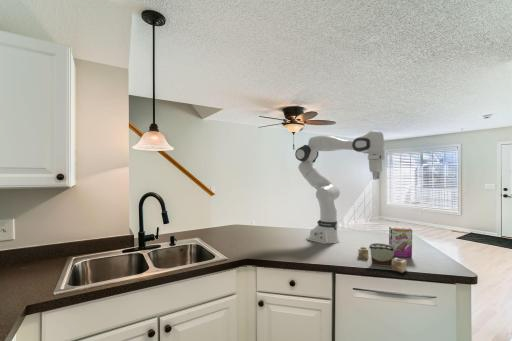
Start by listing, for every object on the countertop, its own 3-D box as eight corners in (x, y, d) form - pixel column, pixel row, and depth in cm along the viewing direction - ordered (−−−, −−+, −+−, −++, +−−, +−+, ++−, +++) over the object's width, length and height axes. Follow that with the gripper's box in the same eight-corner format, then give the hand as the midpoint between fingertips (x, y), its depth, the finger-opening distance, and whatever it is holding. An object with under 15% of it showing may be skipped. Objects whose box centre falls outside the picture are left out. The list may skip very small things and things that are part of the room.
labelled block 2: (391, 269, 126) (391, 259, 126) (395, 267, 129) (395, 257, 129) (402, 272, 122) (402, 262, 122) (406, 270, 125) (406, 259, 125)
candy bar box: (391, 256, 144) (391, 228, 144) (388, 253, 149) (388, 226, 149) (412, 258, 142) (412, 229, 142) (409, 255, 146) (409, 227, 146)
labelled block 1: (358, 257, 143) (358, 248, 143) (359, 255, 147) (359, 246, 147) (368, 259, 141) (368, 249, 141) (368, 256, 145) (368, 247, 145)
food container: (392, 262, 135) (392, 244, 135) (394, 266, 129) (394, 247, 129) (367, 260, 139) (367, 242, 139) (368, 264, 133) (368, 245, 133)
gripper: (373, 157, 165) (374, 178, 165) (367, 156, 148) (367, 179, 148) (384, 157, 161) (384, 178, 161) (378, 156, 144) (378, 179, 144)
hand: (376, 179), depth 155 cm, fingers open, 8 cm apart
